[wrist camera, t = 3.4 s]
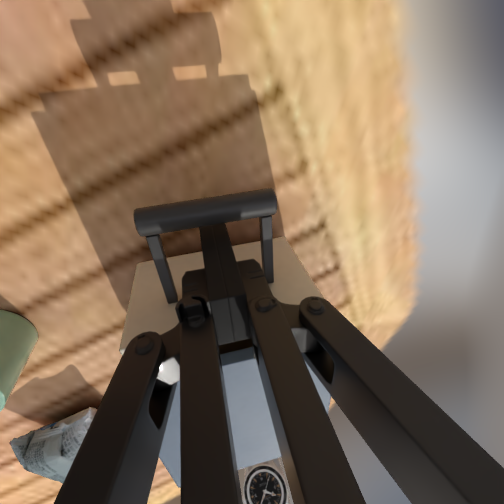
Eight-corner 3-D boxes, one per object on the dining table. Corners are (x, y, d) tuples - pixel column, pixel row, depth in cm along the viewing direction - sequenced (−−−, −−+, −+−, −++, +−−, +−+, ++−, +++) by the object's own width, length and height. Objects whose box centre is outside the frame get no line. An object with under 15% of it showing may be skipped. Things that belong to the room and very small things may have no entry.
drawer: (106, 182, 17) (63, 251, 11) (284, 158, 19) (340, 204, 12) (177, 369, 28) (177, 458, 22) (285, 344, 30) (314, 419, 23)
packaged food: (95, 385, 28) (81, 439, 24) (158, 429, 35) (155, 476, 31) (18, 418, 28) (-10, 476, 24) (95, 454, 35) (84, 505, 31)
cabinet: (137, 277, 22) (116, 391, 14) (288, 249, 24) (341, 336, 16) (177, 380, 30) (178, 488, 23) (287, 353, 32) (323, 444, 24)
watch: (264, 399, 37) (292, 506, 28) (281, 422, 41) (310, 520, 32) (225, 416, 37) (241, 528, 28) (247, 437, 41) (267, 538, 32)
